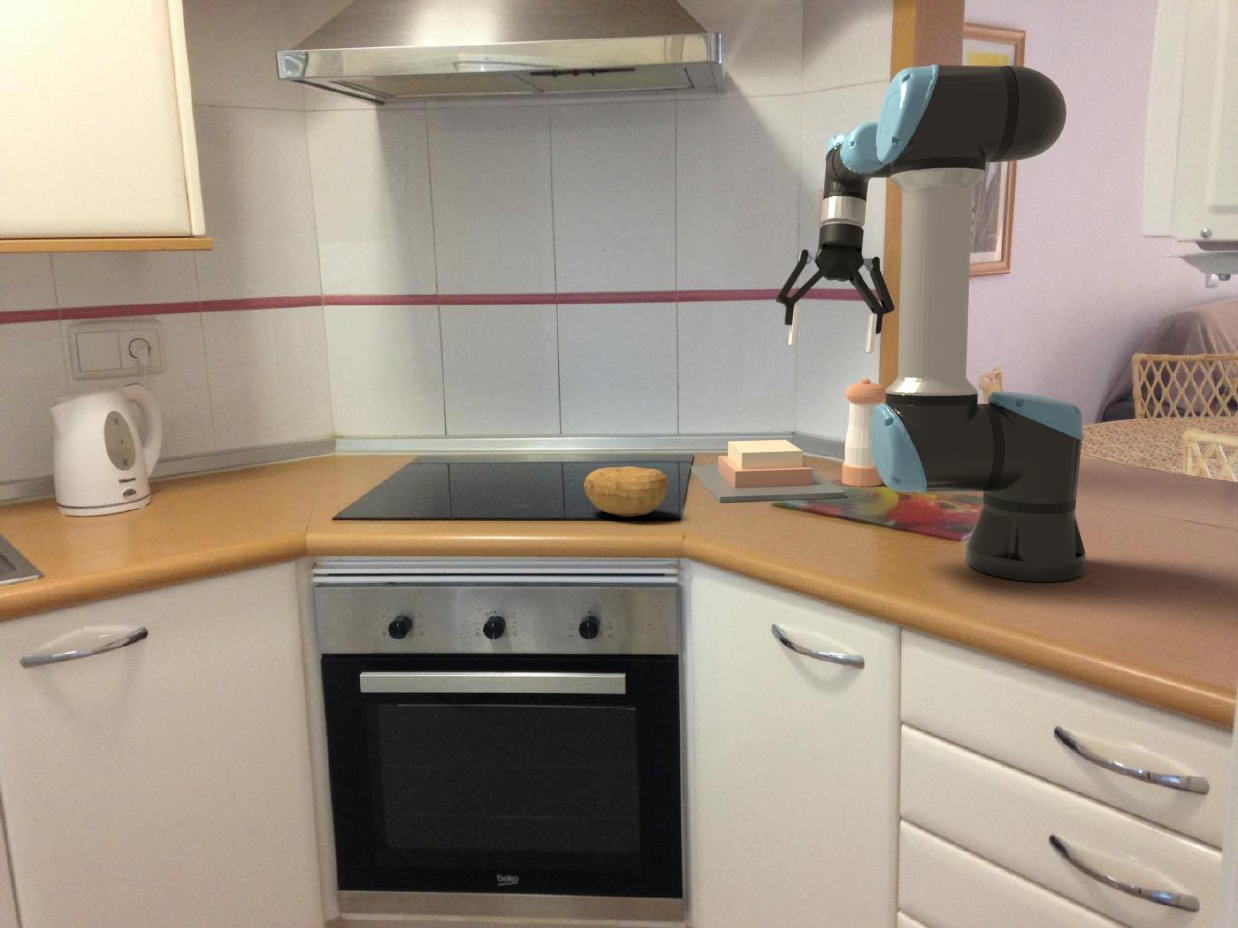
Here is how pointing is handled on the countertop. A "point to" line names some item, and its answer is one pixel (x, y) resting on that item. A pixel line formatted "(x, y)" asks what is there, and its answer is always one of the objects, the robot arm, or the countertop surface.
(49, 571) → the countertop surface
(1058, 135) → the robot arm
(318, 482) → the countertop surface
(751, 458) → the stacked blocks on tray
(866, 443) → the pepper shaker
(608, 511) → the potato
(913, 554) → the countertop surface
